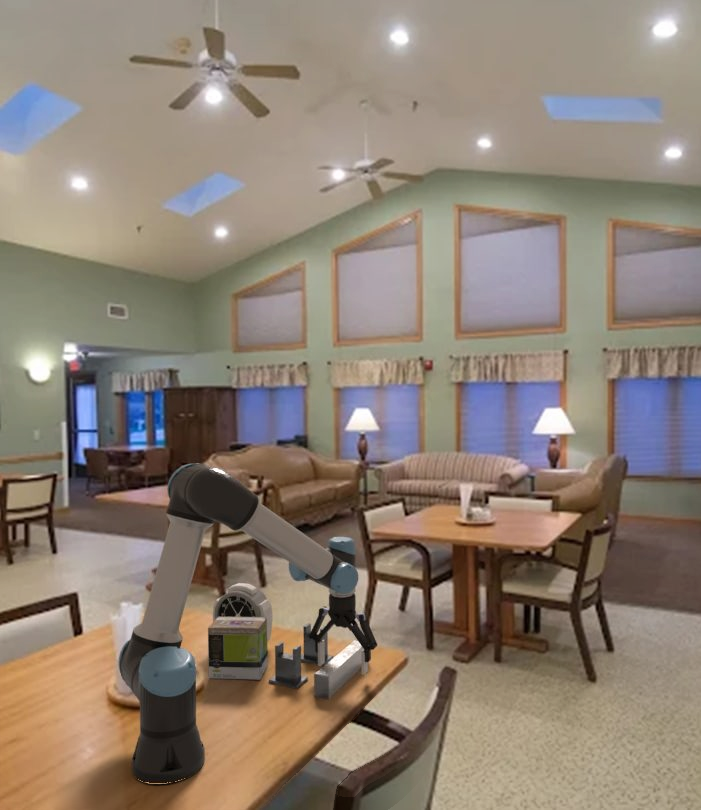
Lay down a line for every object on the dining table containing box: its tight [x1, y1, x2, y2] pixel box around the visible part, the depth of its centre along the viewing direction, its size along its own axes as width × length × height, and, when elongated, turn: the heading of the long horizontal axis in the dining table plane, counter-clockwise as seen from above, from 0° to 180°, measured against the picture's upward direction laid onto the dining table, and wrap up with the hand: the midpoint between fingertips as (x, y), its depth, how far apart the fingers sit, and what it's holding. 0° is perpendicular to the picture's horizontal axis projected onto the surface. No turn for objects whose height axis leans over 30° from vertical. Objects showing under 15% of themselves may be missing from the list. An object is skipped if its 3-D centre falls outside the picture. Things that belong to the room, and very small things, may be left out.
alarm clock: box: [212, 582, 273, 643], centre depth 198 cm, size 18×8×20 cm, turn 73°
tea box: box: [207, 617, 269, 681], centre depth 181 cm, size 15×10×15 cm, turn 84°
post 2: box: [301, 623, 334, 667], centre depth 190 cm, size 6×9×10 cm, turn 65°
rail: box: [313, 639, 363, 701], centre depth 177 cm, size 26×4×6 cm, turn 155°
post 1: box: [268, 641, 309, 690], centre depth 175 cm, size 6×9×10 cm, turn 65°
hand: (342, 668), depth 177 cm, fingers open, 13 cm apart
